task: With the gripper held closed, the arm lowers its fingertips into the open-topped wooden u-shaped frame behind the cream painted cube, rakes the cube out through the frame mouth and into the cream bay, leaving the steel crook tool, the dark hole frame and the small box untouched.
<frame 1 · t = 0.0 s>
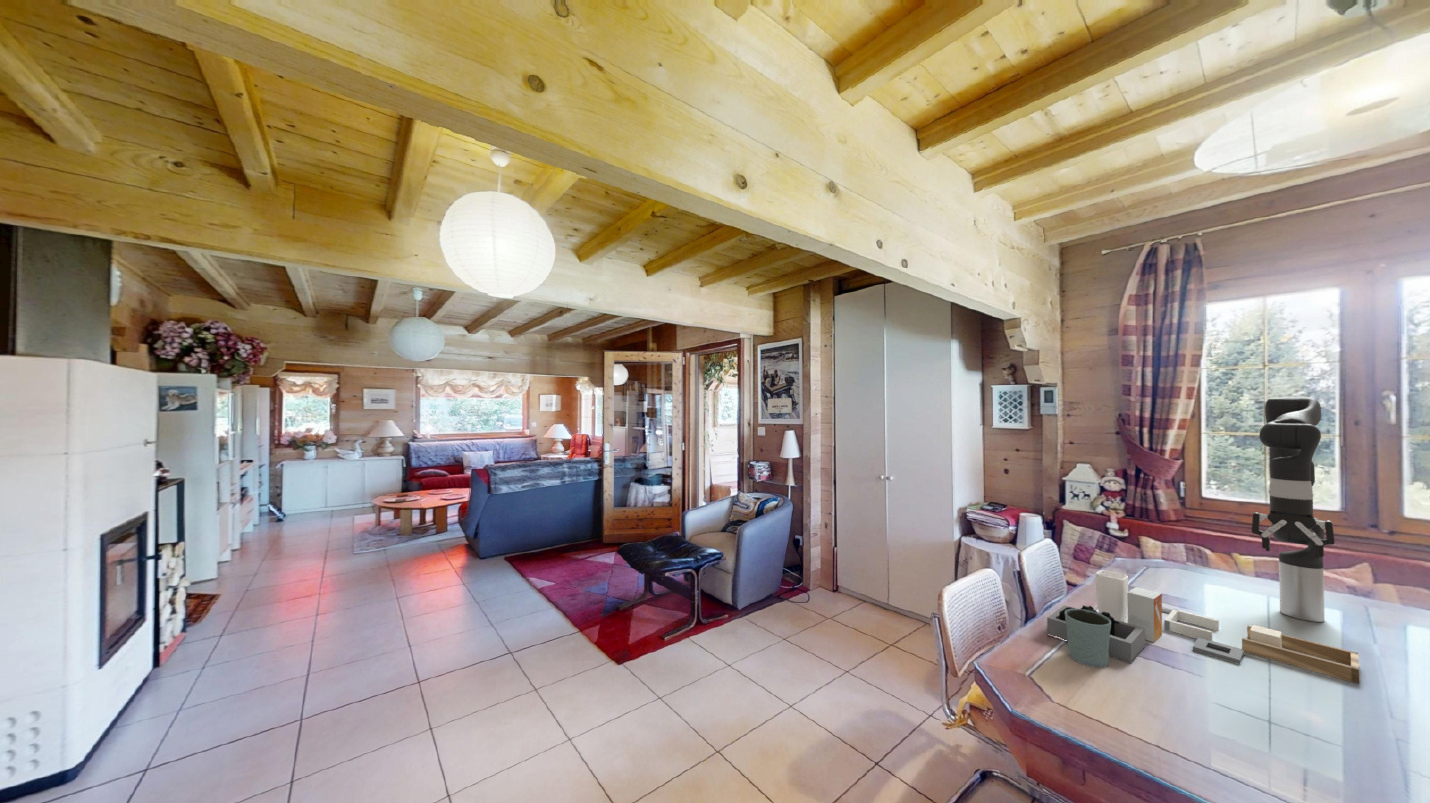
hand: (1291, 554, 128), 29 cm above the table, fingers open, 8 cm apart
grey rectangular planter box: (1095, 641, 139), on the table
small box: (1145, 635, 142), on the table
white rounded prism: (1112, 620, 152), on the table
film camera: (1092, 641, 138), resting on grey rectangular planter box
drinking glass: (1088, 660, 129), on the table
wooden u-shaped frame: (1294, 656, 129), on the table
cream bay: (1192, 629, 145), on the table
hole frame: (1218, 652, 132), on the table
crook tool: (1181, 615, 155), on the table
cream cube: (1266, 649, 133), on the table
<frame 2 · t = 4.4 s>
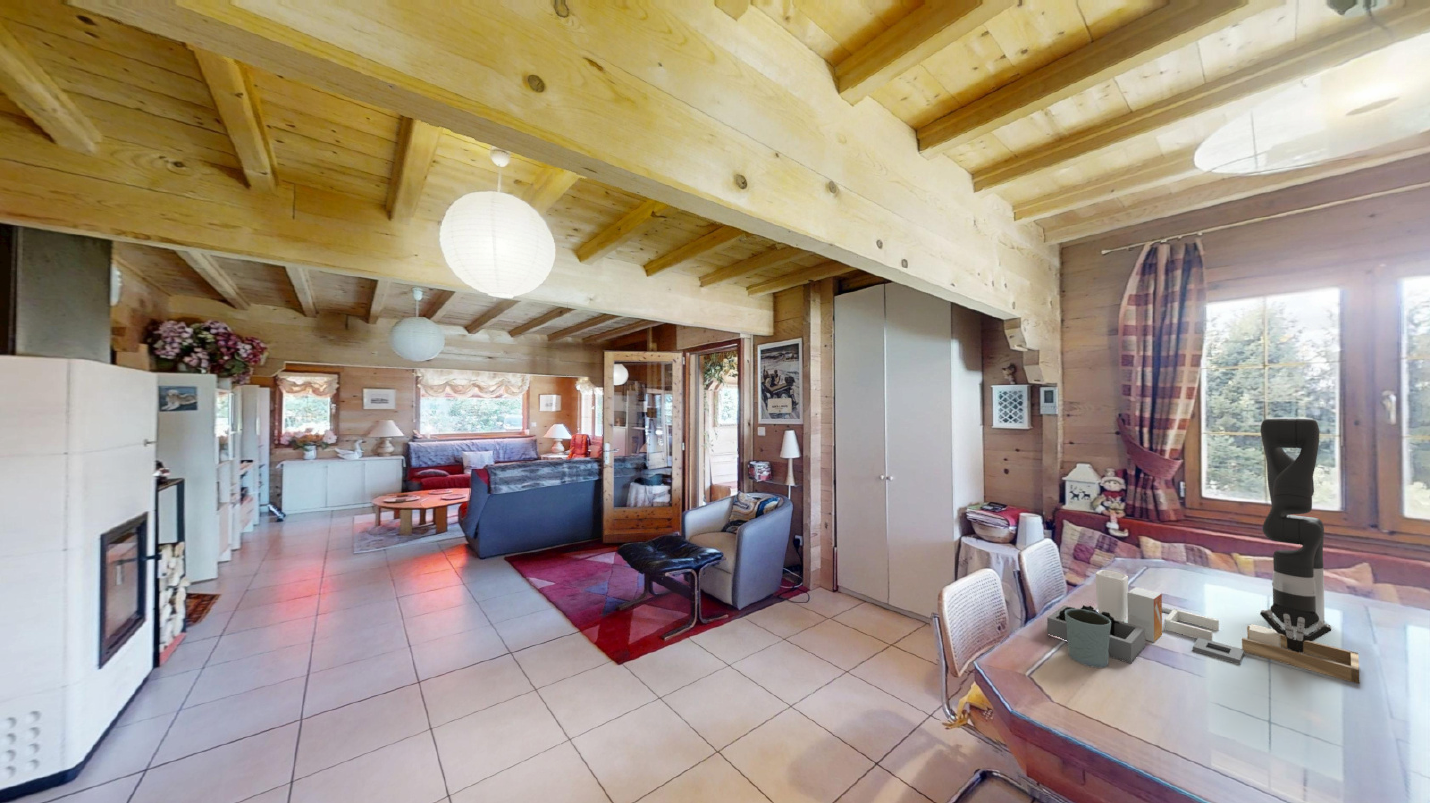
hand: (1295, 651, 129), 2 cm above the table, fingers closed
cream cube: (1264, 649, 133), on the table, touching gripper
everything else where it was.
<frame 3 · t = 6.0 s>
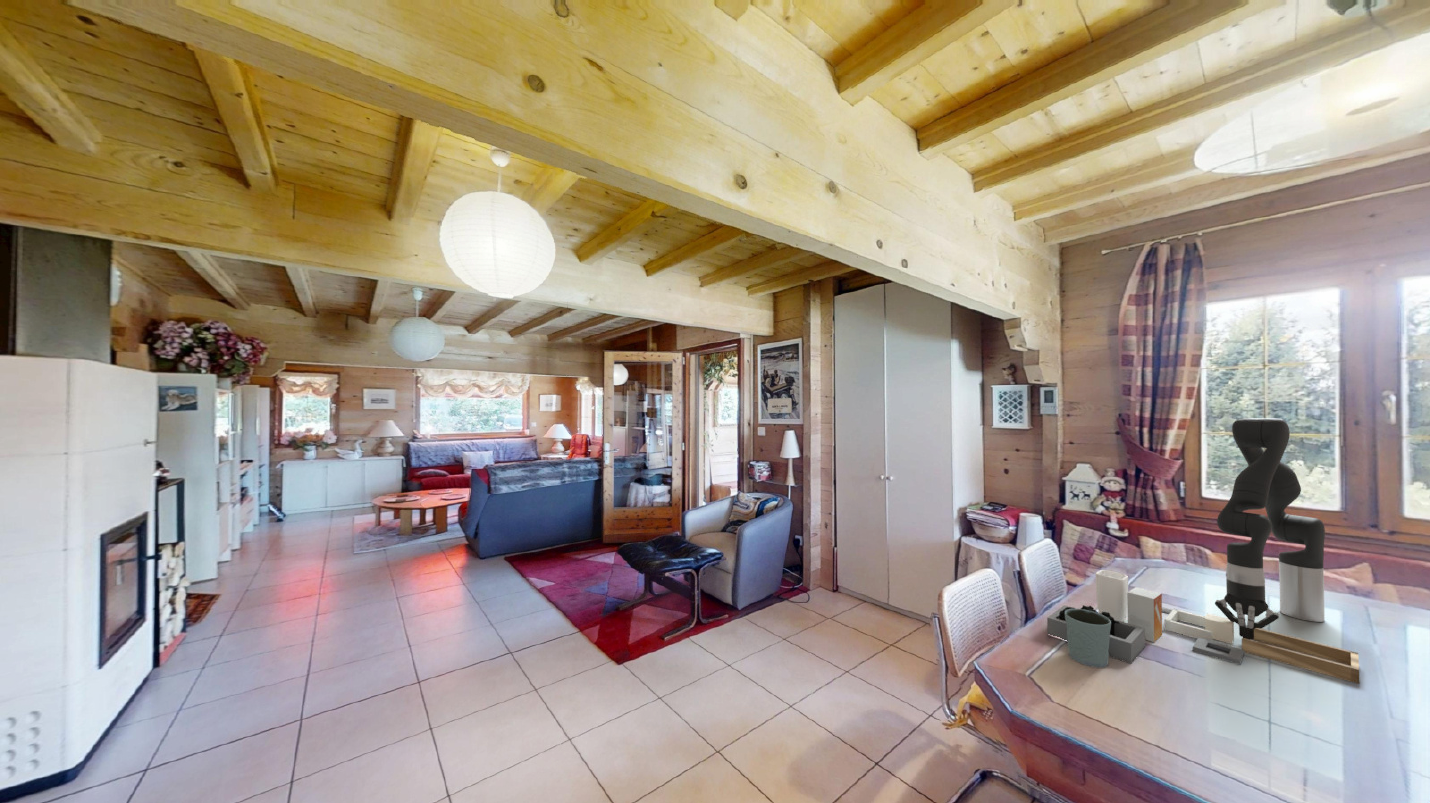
hand: (1246, 638, 136), 2 cm above the table, fingers closed
cream cube: (1219, 637, 140), on the table, touching gripper
everything else where it was.
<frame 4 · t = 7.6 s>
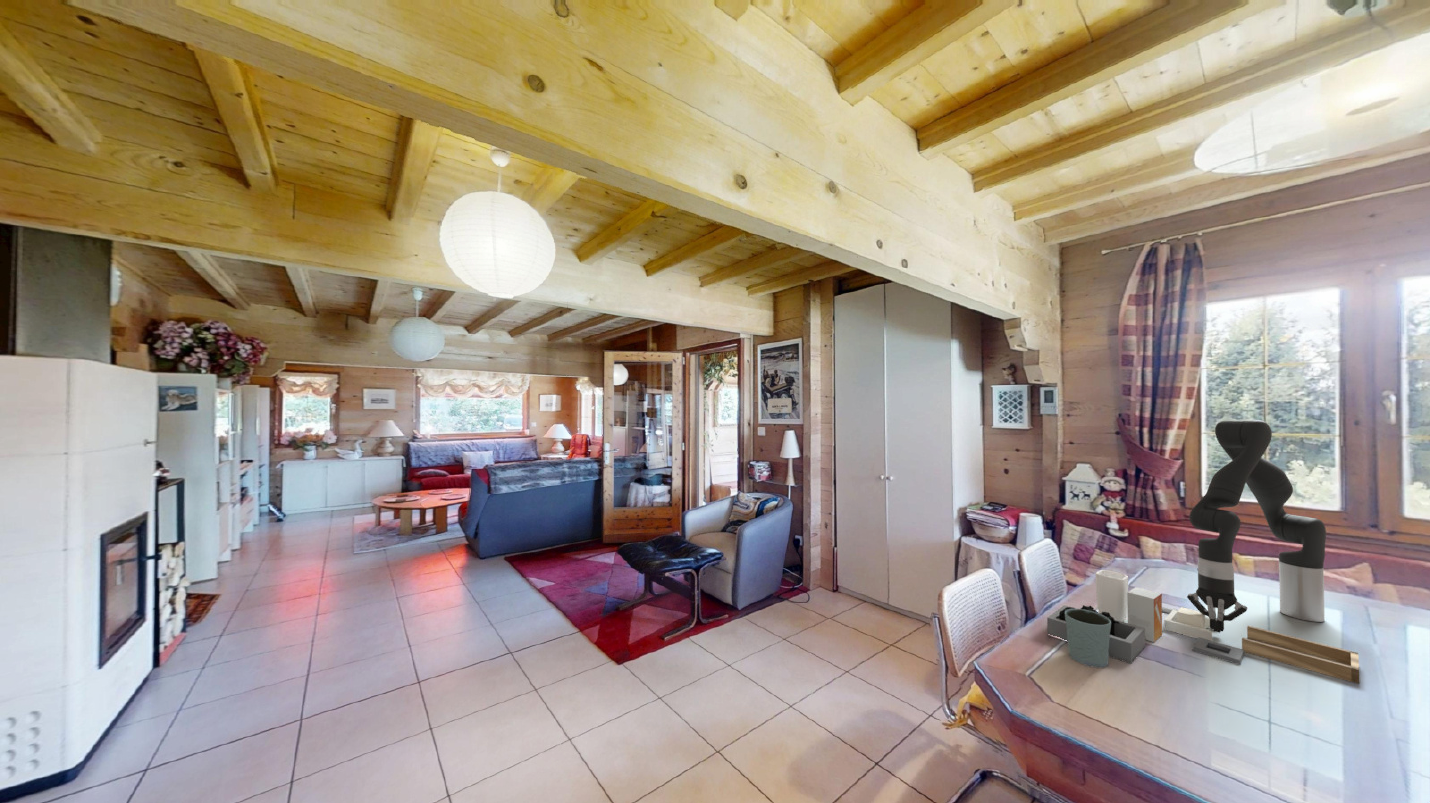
hand: (1216, 631, 141), 2 cm above the table, fingers closed
cream cube: (1191, 629, 145), on the table, touching gripper
everything else where it was.
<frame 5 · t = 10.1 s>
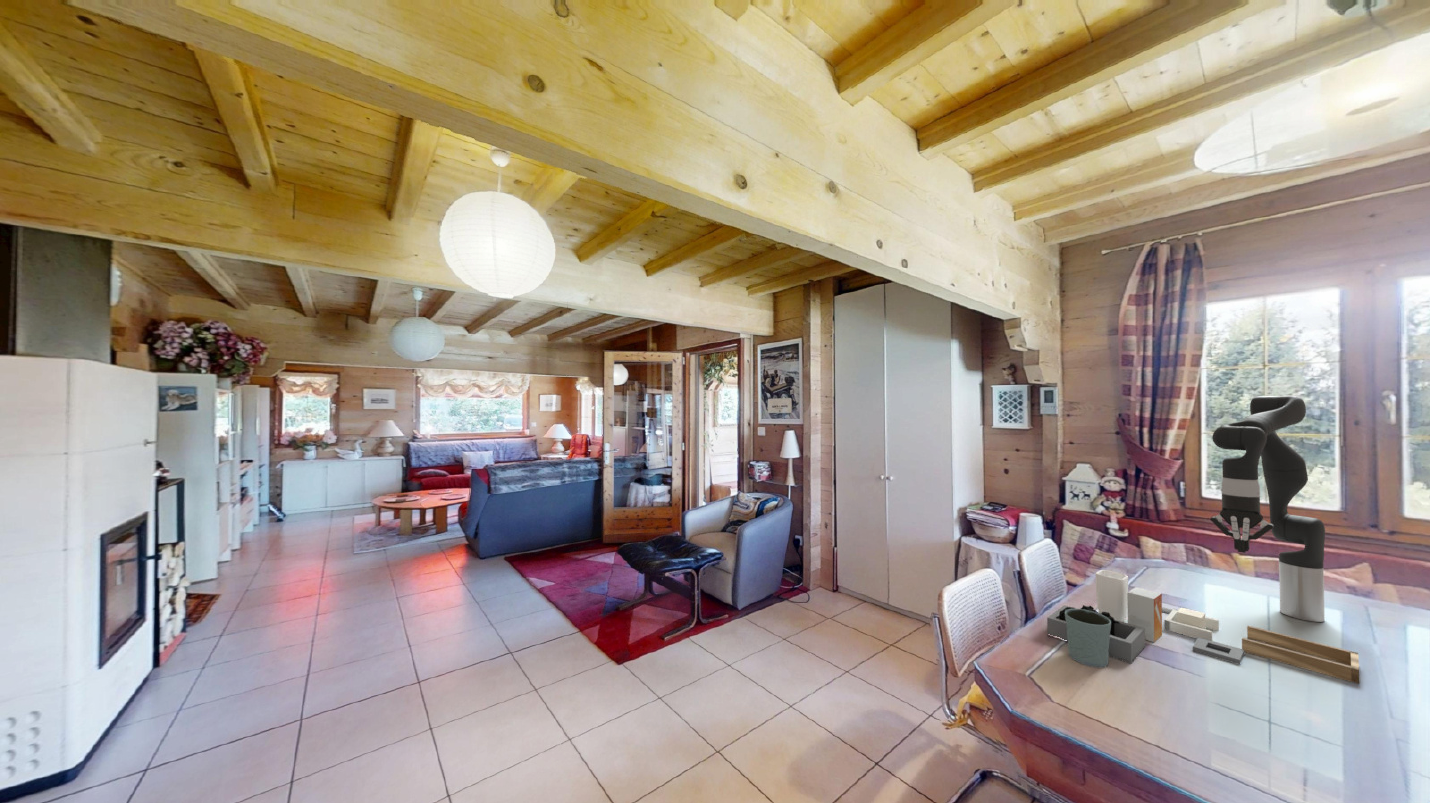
hand: (1241, 551, 137), 27 cm above the table, fingers closed
cream cube: (1191, 630, 145), on the table
everything else where it was.
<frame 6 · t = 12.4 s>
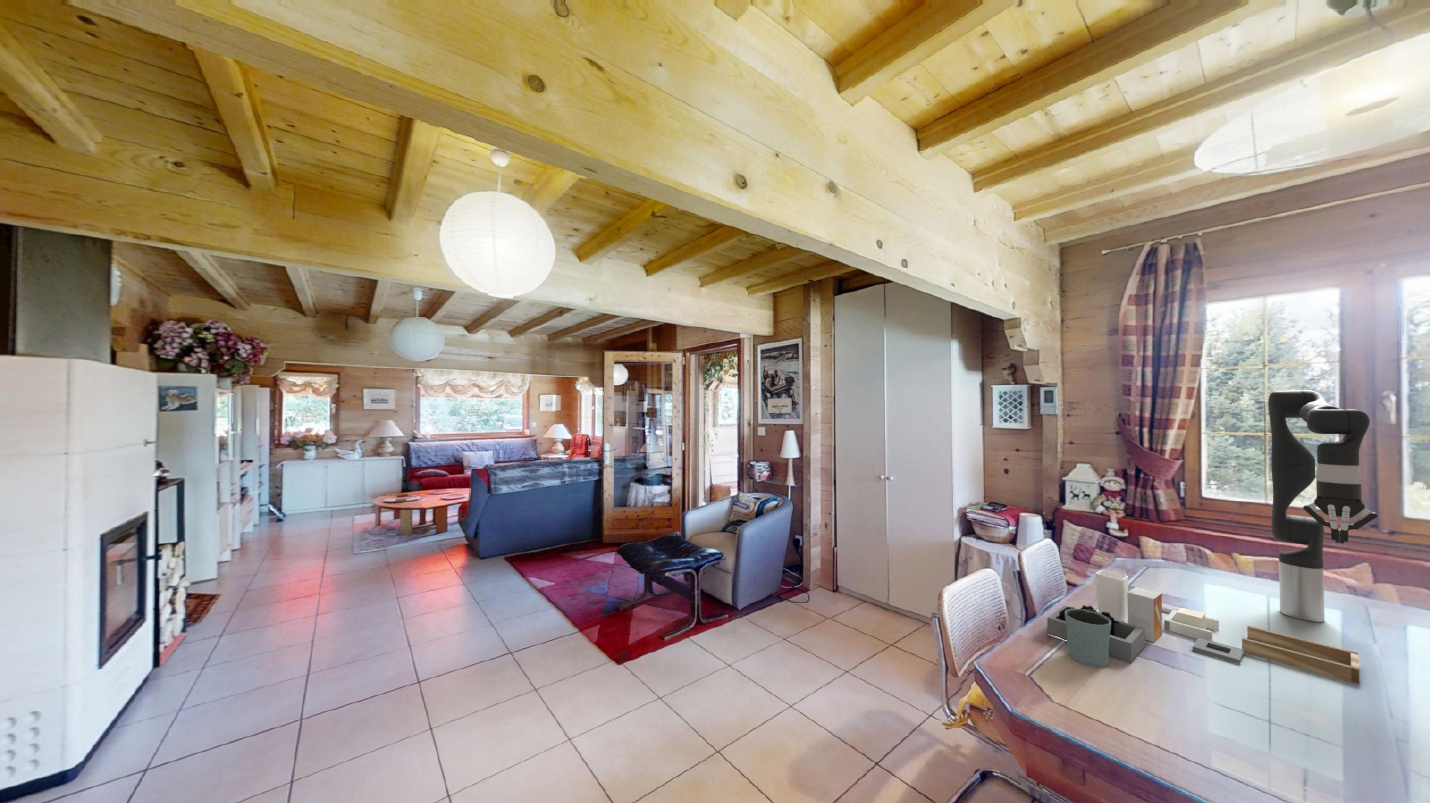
hand: (1339, 542, 129), 32 cm above the table, fingers closed
nothing on the table moved.
at the end: cream cube inside the target area (0.7 cm from its centre), on the table; cream cube tilted 0°; cream cube moved 15.2 cm from its start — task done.
